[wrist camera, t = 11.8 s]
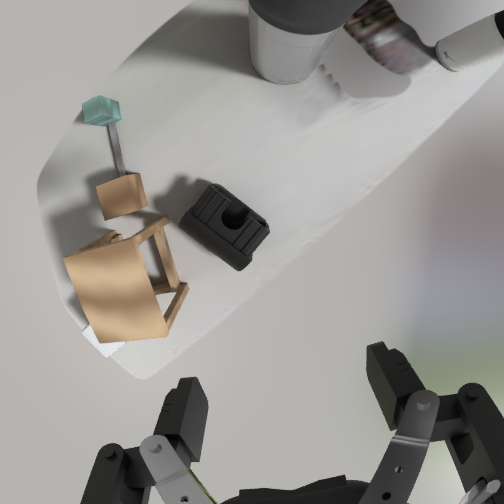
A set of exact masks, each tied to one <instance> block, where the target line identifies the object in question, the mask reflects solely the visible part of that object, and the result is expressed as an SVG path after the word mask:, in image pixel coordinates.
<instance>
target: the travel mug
mask: <svg viewBox="0 0 504 504" xmlns="http://www.w3.org/2000/svg"><path fill="white" fill-rule="evenodd" d="M435 52H436V55H437V57H438V59H439V61H440V62H441V64H442V65H443V66H444V67H445V68H447V69H448V70H450V71H452V72H457V71H460V70H463V69H467V68H470V67H473V66H476V65H479V64H483V63H486V62H489V61H493V60H496V59H500V58H504V10H503V11H500V12H498V13H495V14H492V15H490V16H488V17H486V18H483V19H481V20H479V21H477V22H475V23H473V24H471V25H469V26H467V27H465V28H463V29H461V30H459V31H457V32H455V33H453V34H451V35H449V36H447V37H445V38H443V39H441V40H440V41H438V42H437V43H436V45H435Z"/></svg>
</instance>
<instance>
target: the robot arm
mask: <svg viewBox="0 0 504 504" xmlns="http://www.w3.org/2000/svg"><path fill="white" fill-rule="evenodd" d="M367 1H368V0H248V14H249V32H250V53H251V61H252V65H253V67H254V68H255V70H256V71H257V72H258V74H259V75H261V76H262V77H263V78H264V79H266V80H268V81H270V82H273V83H276V84H283V85H288V84H295V83H298V82H300V81H303V80H304V79H306V78H307V77H308V76H309V75H310V74H311V73H312V71H313V70H314V68H315V67H316V65H317V64H318V63H319V61H320V60H321V58H322V57H323V55H324V53H325V52H326V50H327V49H328V47H329V46H330V44H331V43H332V41H333V40H334V38H335V37H336V36H337V34H338V33H339V31H340V30H341V28H342V27H343V25H344V24H345V22H346V21H347V20H348V18H349V17H350V16H351V15H352V14H353V13H354V12H355V11H357V10H358V9H359V8H360V7H361V6H362V5H363V4H365V3H366V2H367ZM366 365H367V366H366V371H367V377H368V380H369V383H370V385H371V387H372V389H373V392H374V394H375V396H376V398H377V401H378V403H379V405H380V408H381V410H382V412H383V415H384V417H385V419H386V422H387V424H388V427H389V429H390V431H392V430H395V429H397V431H396V433H395V436H394V437H393V438H392V439H391V441H390V444H389V446H388V448H387V450H386V452H385V454H384V457H383V459H382V461H381V463H380V465H379V467H378V469H377V471H376V473H375V475H374V477H373V479H372V480H371V482H370V483H368V482H364V481H358V480H346V477H345V475H341V476H337V477H332V478H328V479H323V480H318V481H316V482H314V483H311V484H309V485H306V486H303V487H300V488H298V489H295V490H280V489H269V488H259V489H243V490H240V491H239V496H236V497H233V498H231V499H228V500H226V501H224V502H223V503H221V504H409V503H407V500H408V498H409V496H410V494H411V491H412V489H413V487H414V484H415V482H416V480H417V477H418V475H419V472H420V469H421V467H422V464H423V461H424V458H425V456H426V453H427V449H428V446H429V442H435V441H442V440H445V442H446V444H447V447H448V449H449V452H450V454H451V456H452V459H453V461H454V464H455V466H456V469H457V471H458V474H459V476H460V479H461V482H462V484H463V487H464V490H465V492H466V495H465V496H464V497H463V498H462V499H461V501H460V503H459V504H504V418H503V416H502V414H501V413H500V411H499V410H498V408H497V406H496V405H495V403H494V402H493V400H492V399H491V397H490V396H489V394H488V393H487V391H486V390H485V389H484V387H482V386H481V385H480V384H477V383H468V384H465V385H463V386H462V387H461V388H460V389H459V391H458V394H452V395H445V396H438V395H437V394H436V393H435V392H433V391H430V390H426V388H425V387H424V385H423V384H422V382H421V381H420V379H419V377H418V376H417V374H416V373H415V371H414V370H413V368H412V367H411V365H410V363H409V362H408V361H407V359H406V357H405V356H404V354H403V353H401V352H400V351H398V350H396V349H395V348H394V349H391V350H388V349H387V347H386V345H385V344H384V342H383V341H381V342H378V343H374V344H371V345H368V346H367V362H366ZM207 413H208V401H207V397H206V396H205V393H204V391H203V389H202V387H201V385H200V382H199V381H198V378H197V377H187V378H181V379H180V380H179V383H178V386H177V388H176V389H172V390H171V391H170V392H169V393H168V394H167V396H166V397H165V400H164V403H163V406H162V409H161V412H160V415H159V418H158V421H157V424H156V427H155V430H154V433H153V435H152V436H149V437H147V438H146V439H144V440H143V442H142V443H141V445H140V446H139V447H134V448H129V449H123V448H122V447H121V446H120V445H118V444H116V443H110V444H107V445H105V446H103V447H102V448H101V449H100V451H99V452H98V455H97V457H96V460H95V463H94V466H93V468H92V471H91V474H90V477H89V480H88V482H87V485H86V488H85V491H84V494H83V497H82V500H81V503H80V504H148V501H149V495H150V490H151V486H155V487H156V489H157V491H158V493H159V494H160V496H161V498H162V500H163V501H164V503H165V504H218V503H217V502H216V501H215V499H214V498H213V497H212V496H211V495H210V494H209V492H208V491H207V490H206V489H205V487H204V486H203V485H202V483H201V482H200V481H199V480H198V478H197V477H196V476H195V474H194V473H193V472H192V470H191V469H190V465H191V462H199V461H200V455H201V449H202V443H203V436H204V431H205V425H206V420H207Z"/></svg>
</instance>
